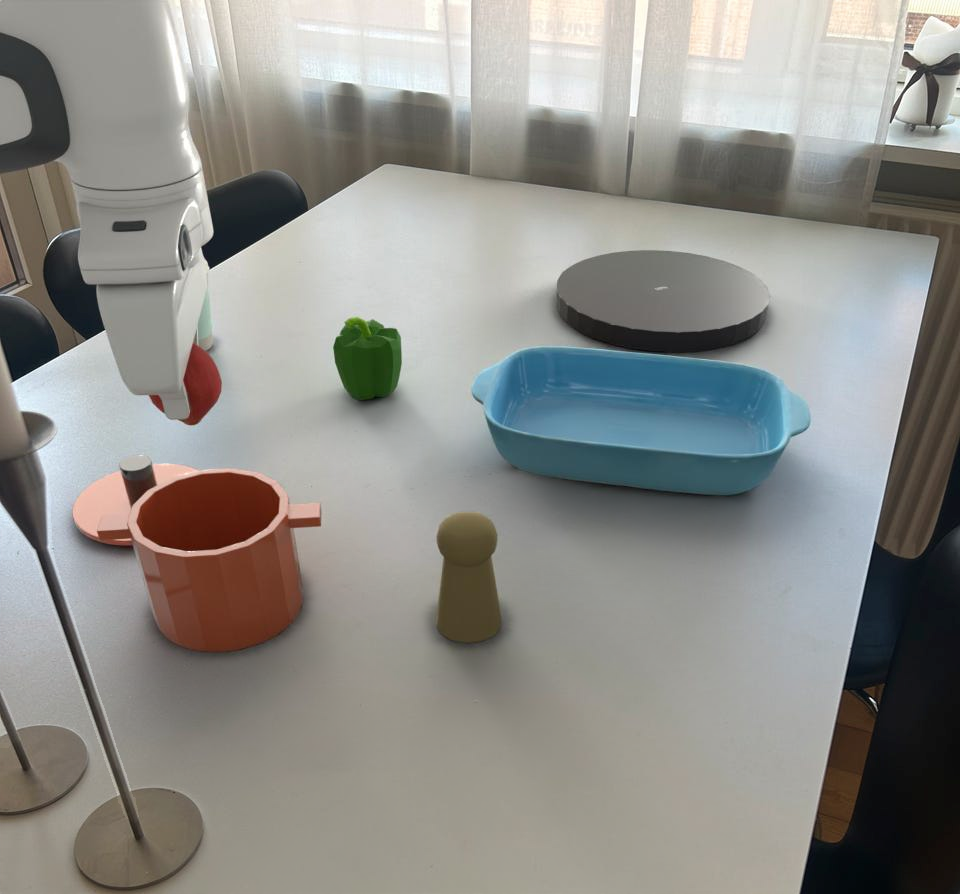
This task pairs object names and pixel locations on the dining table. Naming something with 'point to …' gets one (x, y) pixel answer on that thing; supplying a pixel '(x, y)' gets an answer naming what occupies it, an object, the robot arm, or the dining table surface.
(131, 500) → the pot lid
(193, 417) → the onion
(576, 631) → the dining table surface
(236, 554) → the pot
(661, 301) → the disc
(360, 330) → the bell pepper
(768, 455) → the casserole dish
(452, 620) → the olive pawn piece
